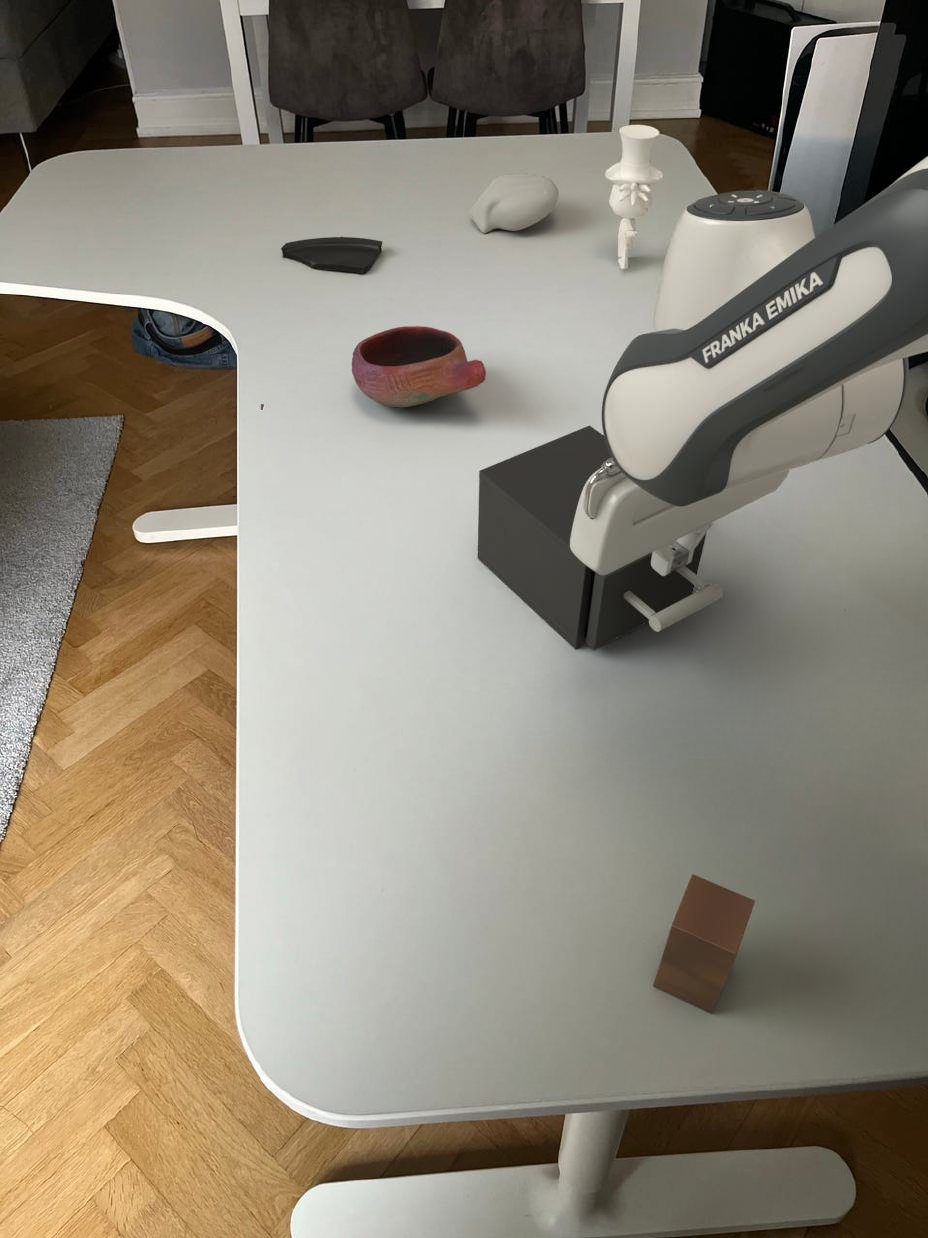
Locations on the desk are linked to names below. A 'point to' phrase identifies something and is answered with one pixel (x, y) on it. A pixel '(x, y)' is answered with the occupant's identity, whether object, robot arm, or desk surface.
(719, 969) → the walnut block
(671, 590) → the drawer
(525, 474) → the drawer cabinet
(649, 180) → the figurine
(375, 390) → the bowl
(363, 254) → the curved wedge
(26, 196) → the desk surface
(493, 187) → the shell shaped sculpture
